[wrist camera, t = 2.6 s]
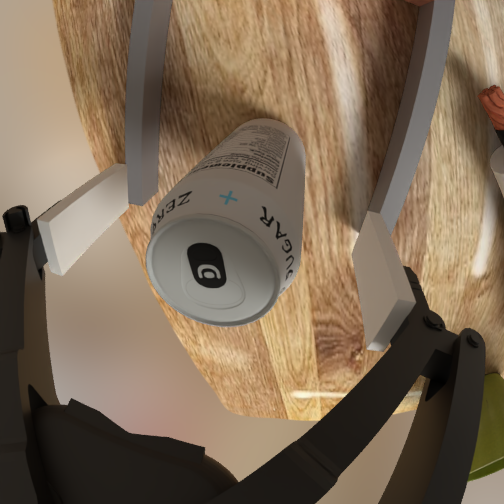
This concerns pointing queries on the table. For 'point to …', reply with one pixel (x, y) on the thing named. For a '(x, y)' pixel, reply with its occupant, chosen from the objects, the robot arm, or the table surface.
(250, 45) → the table surface
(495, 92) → the cable
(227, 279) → the energy drink can
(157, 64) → the guide lane
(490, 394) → the flower pot
